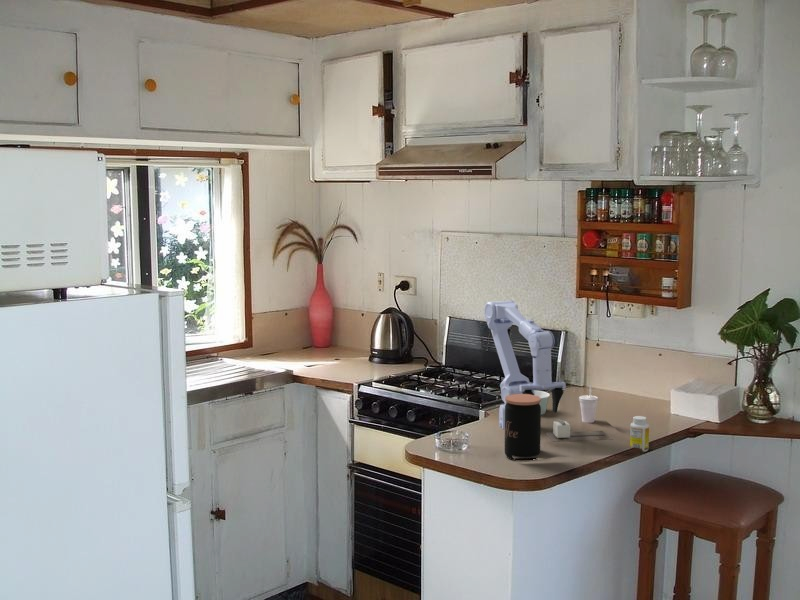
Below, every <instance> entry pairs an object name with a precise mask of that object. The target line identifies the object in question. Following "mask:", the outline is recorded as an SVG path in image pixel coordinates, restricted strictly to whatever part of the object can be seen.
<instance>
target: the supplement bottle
mask: <svg viewBox="0 0 800 600" xmlns="http://www.w3.org/2000/svg"><path fill="white" fill-rule="evenodd" d="M647 421H648V420H647V417H646V416H643V415H636V416H633V418H632V422H631V423H630V427H629V428H630V429H629V432H630V433H629V434H630V435H629V437H630V438H629V445H630V447H632V448H636V449H640V450H641V451H642V452H645V453H646V452H648V451H649V448H650V447H649V446H650V445H649V444H650V443H649V442H650V441H649V440H650V424H649V423H647Z"/></svg>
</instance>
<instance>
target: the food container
mask: <svg viewBox="0 0 800 600" xmlns="http://www.w3.org/2000/svg"><path fill="white" fill-rule="evenodd" d="M534 395H535V396H539V397H540V398H541V402H540V403H539V404H540V406H541V416H542V415H545V414H547V413H546V412H547V407H548V404H549V403H548V402H549V398H550V396H551V394H550V393H549V392H547V391H544V390H534Z"/></svg>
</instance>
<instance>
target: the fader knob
mask: <svg viewBox="0 0 800 600" xmlns="http://www.w3.org/2000/svg"><path fill="white" fill-rule="evenodd" d="M557 419H558V420H557V421H556V420H555V421H553V422H552V423H553V428H552V429H553V431H552V432H553V434H554V435H555V436H556V437H557V438H567V437H570V432H571V424H570V423H569V422H568V421H567V420H563V419H561V418H557Z"/></svg>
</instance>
